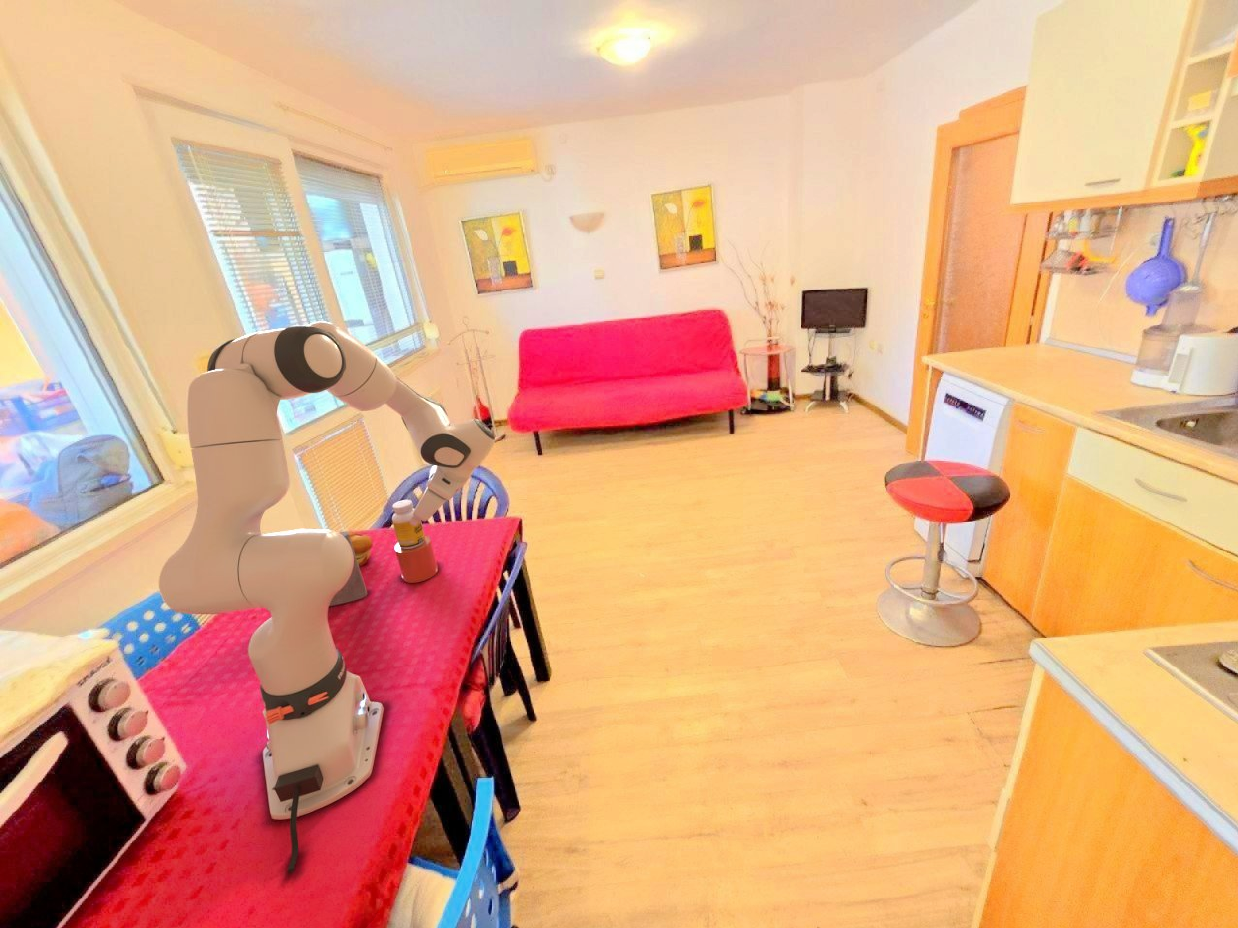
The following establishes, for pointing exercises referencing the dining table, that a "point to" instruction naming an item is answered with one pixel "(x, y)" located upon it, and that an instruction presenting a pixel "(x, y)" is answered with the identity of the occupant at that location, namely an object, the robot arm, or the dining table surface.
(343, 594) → the hip flask
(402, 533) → the pill bottle
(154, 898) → the dining table surface
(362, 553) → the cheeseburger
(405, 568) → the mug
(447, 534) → the dining table surface
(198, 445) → the robot arm
